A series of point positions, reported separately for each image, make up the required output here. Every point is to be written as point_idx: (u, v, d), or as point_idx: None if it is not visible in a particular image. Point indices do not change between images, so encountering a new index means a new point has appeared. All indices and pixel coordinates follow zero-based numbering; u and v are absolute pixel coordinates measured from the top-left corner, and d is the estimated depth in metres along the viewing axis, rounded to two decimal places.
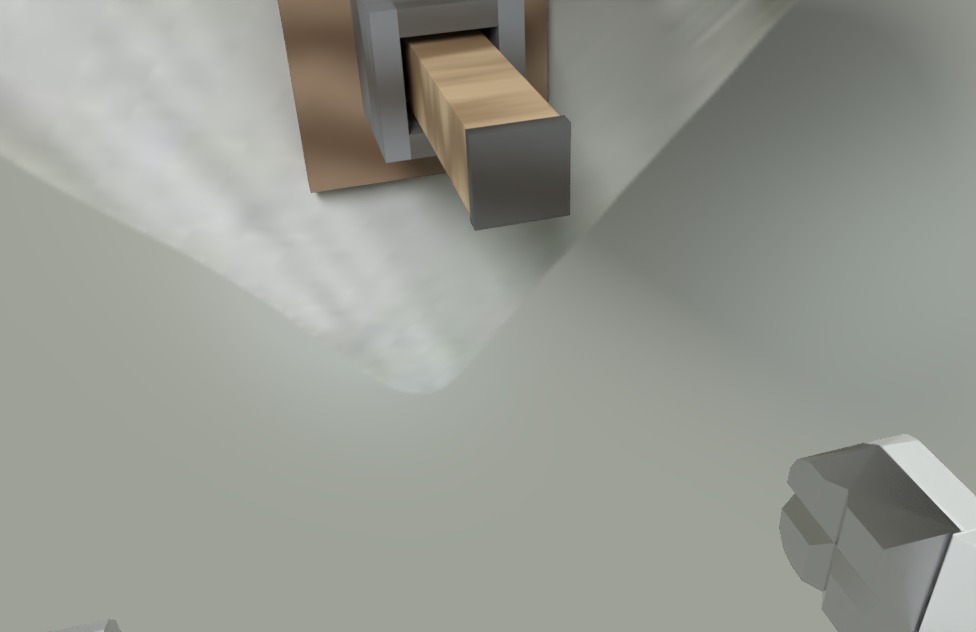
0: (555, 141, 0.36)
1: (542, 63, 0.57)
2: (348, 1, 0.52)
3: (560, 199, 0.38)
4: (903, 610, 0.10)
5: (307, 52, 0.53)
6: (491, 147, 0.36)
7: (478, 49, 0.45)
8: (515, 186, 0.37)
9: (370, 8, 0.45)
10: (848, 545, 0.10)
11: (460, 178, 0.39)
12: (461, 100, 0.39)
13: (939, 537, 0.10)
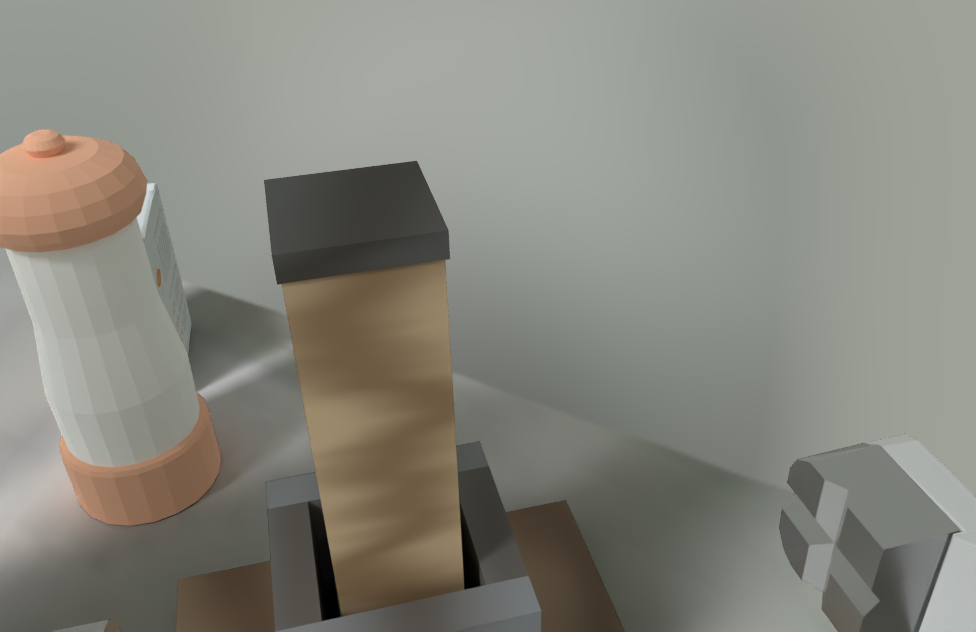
0: (293, 186, 0.24)
1: None
2: None
3: (390, 170, 0.24)
4: (903, 610, 0.10)
5: None
6: (295, 234, 0.22)
7: None
8: (366, 206, 0.23)
9: None
10: (848, 545, 0.10)
11: (408, 329, 0.23)
12: None
13: (939, 537, 0.10)
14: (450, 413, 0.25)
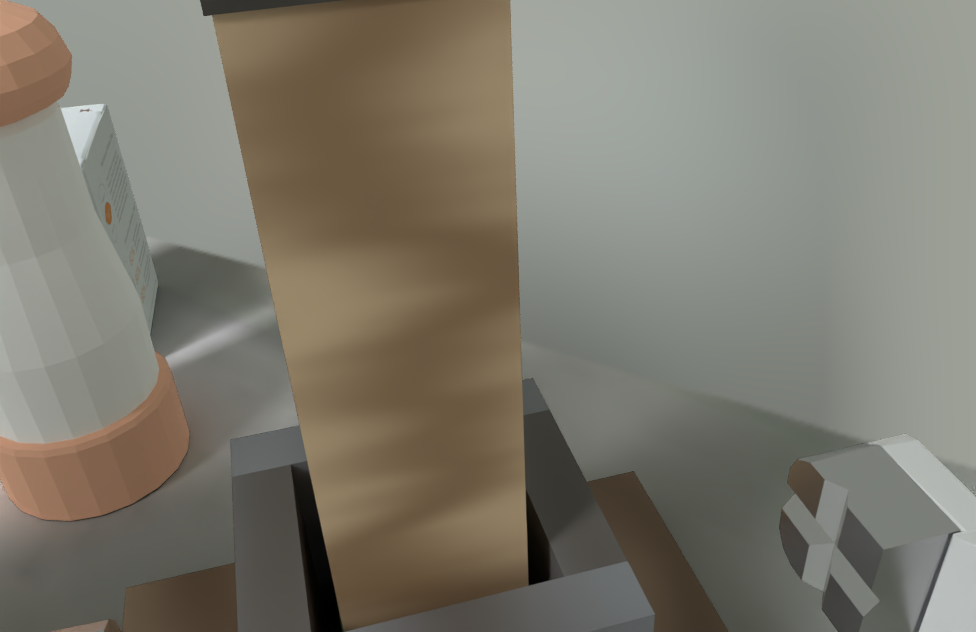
0: None
1: None
2: None
3: None
4: (903, 610, 0.10)
5: None
6: None
7: None
8: None
9: None
10: (848, 545, 0.10)
11: (444, 125, 0.13)
12: None
13: (939, 537, 0.10)
14: (513, 290, 0.15)
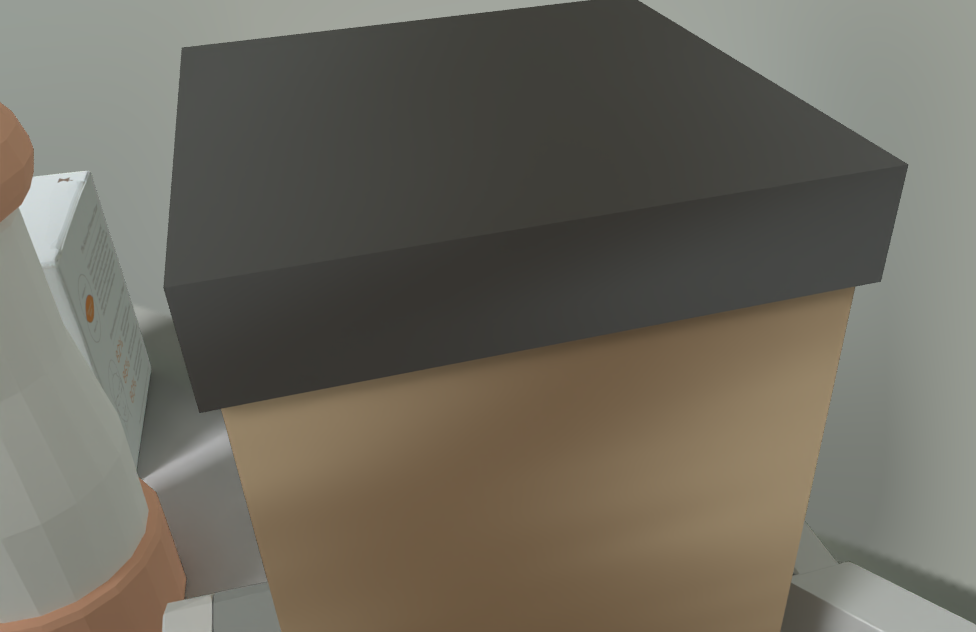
0: (272, 59, 0.07)
1: None
2: None
3: (564, 16, 0.08)
4: None
5: None
6: (275, 196, 0.05)
7: None
8: (531, 99, 0.06)
9: None
10: None
11: (680, 527, 0.07)
12: None
13: None
14: None
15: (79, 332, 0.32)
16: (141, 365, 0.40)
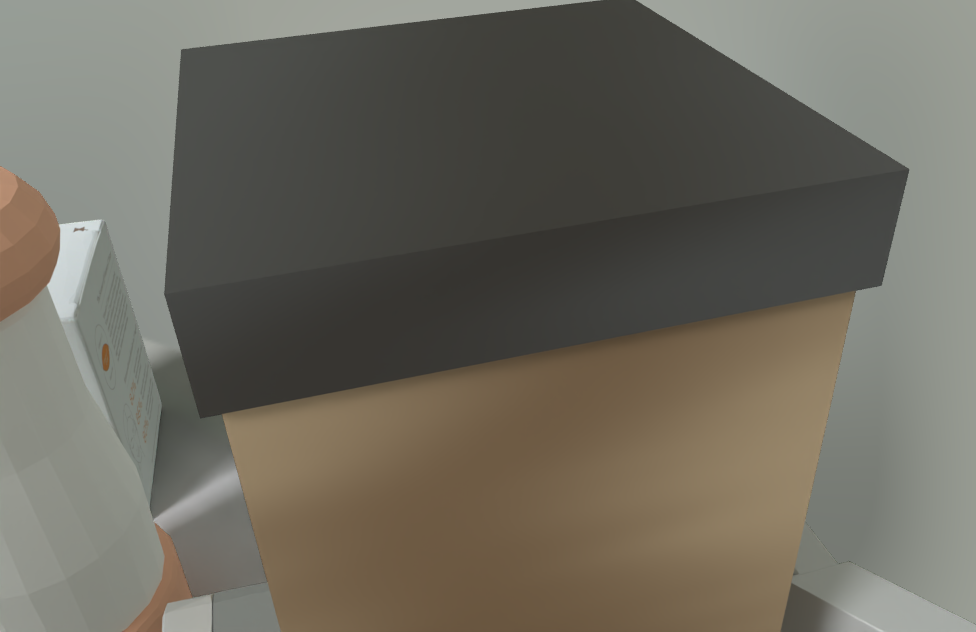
0: (271, 62, 0.07)
1: None
2: None
3: (564, 18, 0.08)
4: None
5: None
6: (275, 202, 0.05)
7: None
8: (531, 103, 0.06)
9: None
10: None
11: (680, 530, 0.07)
12: None
13: None
14: None
15: (96, 382, 0.33)
16: (152, 403, 0.41)
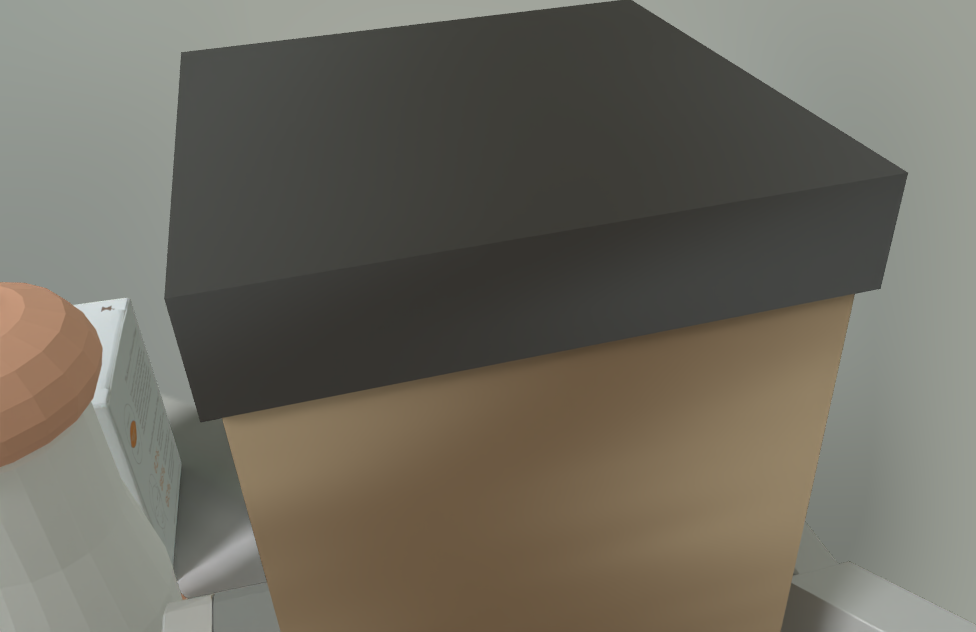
0: (272, 65, 0.07)
1: None
2: None
3: (564, 20, 0.08)
4: None
5: None
6: (275, 204, 0.05)
7: None
8: (531, 107, 0.06)
9: None
10: None
11: (680, 533, 0.07)
12: None
13: None
14: None
15: (125, 460, 0.35)
16: (174, 466, 0.43)
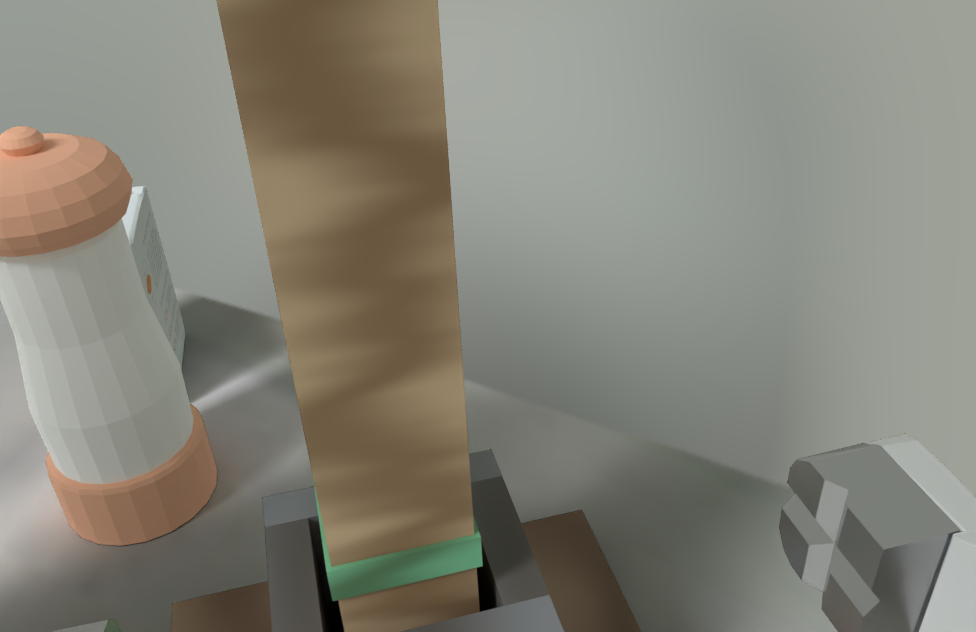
0: None
1: None
2: None
3: None
4: (903, 610, 0.10)
5: None
6: None
7: None
8: None
9: None
10: (848, 545, 0.10)
11: (386, 53, 0.17)
12: None
13: (939, 537, 0.10)
14: (445, 190, 0.19)
15: None
16: (179, 329, 0.54)
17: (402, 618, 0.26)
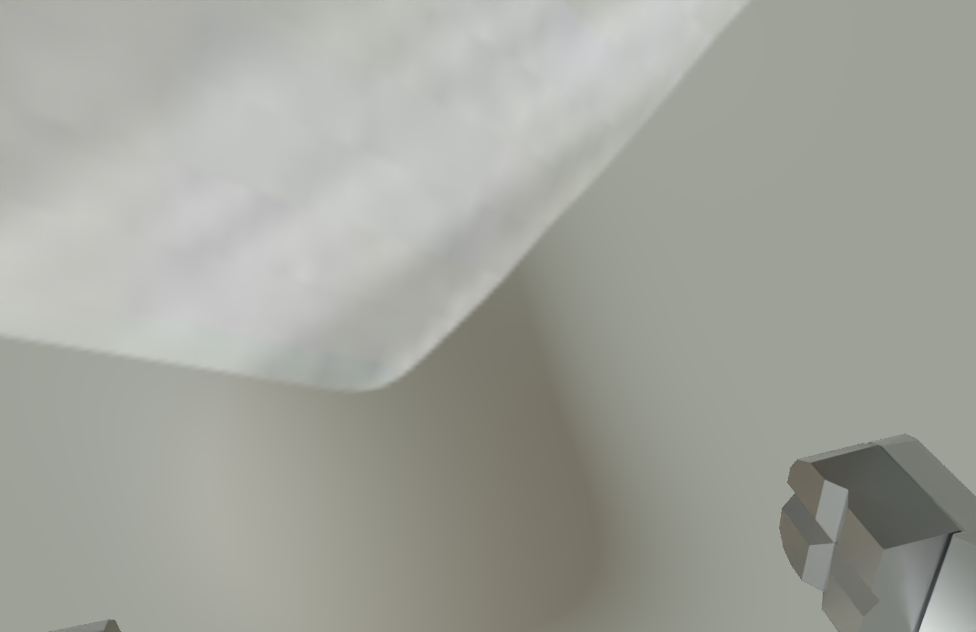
0: None
1: None
2: None
3: None
4: (903, 610, 0.10)
5: None
6: None
7: None
8: None
9: None
10: (848, 545, 0.10)
11: None
12: None
13: (939, 537, 0.10)
14: None
15: None
16: None
17: None
